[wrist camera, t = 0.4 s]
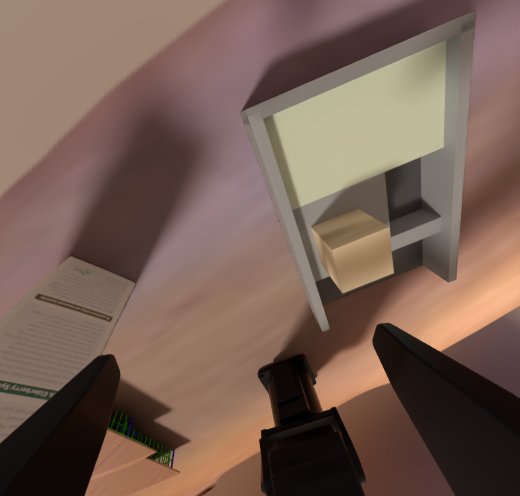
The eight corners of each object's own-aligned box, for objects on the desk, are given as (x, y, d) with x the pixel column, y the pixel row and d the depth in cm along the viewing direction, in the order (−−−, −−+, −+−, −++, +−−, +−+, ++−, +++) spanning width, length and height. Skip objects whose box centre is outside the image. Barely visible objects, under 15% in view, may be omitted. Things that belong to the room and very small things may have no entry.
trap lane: (428, 261, 26) (456, 279, 23) (310, 308, 27) (322, 332, 23) (427, 31, 16) (475, 9, 13) (240, 112, 17) (245, 109, 14)
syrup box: (69, 252, 19) (-214, 493, 7) (139, 282, 22) (28, 504, 9) (46, 300, 21) (-215, 566, 8) (114, 323, 23) (-10, 559, 11)
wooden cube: (364, 248, 21) (393, 273, 17) (321, 265, 21) (342, 293, 17) (357, 208, 19) (389, 227, 15) (311, 227, 19) (332, 250, 15)
